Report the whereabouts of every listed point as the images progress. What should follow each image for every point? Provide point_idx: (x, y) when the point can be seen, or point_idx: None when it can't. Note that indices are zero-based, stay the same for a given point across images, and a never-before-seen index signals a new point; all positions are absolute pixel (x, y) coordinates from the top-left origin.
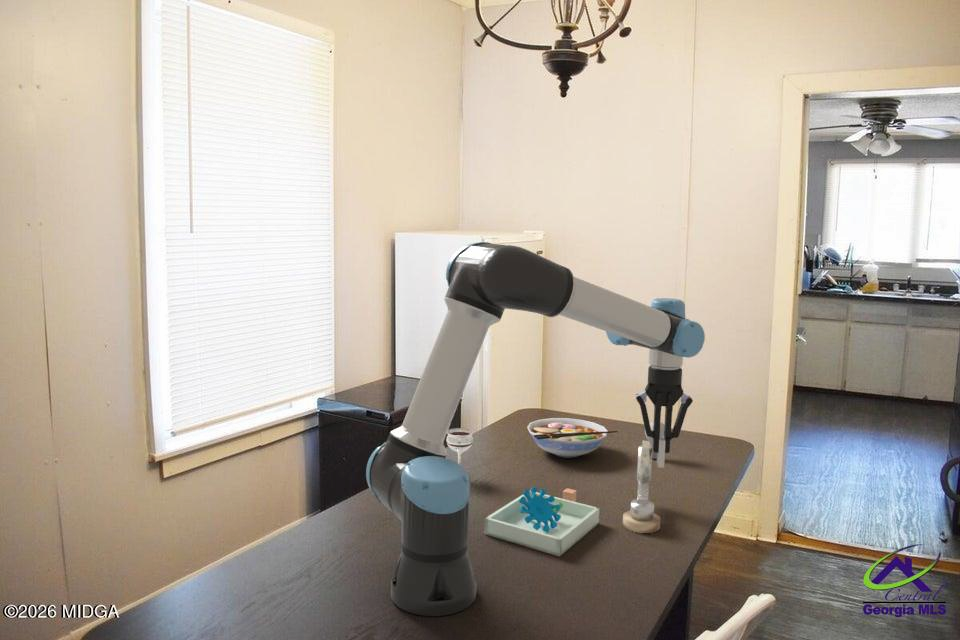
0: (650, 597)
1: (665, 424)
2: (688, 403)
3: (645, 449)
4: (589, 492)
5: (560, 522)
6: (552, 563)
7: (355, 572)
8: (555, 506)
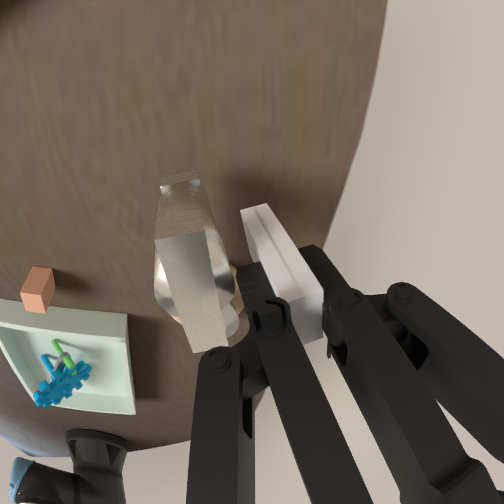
0: None
1: (365, 403)
2: None
3: (210, 346)
4: (32, 166)
5: (79, 345)
6: (137, 404)
7: (38, 432)
8: (70, 373)
